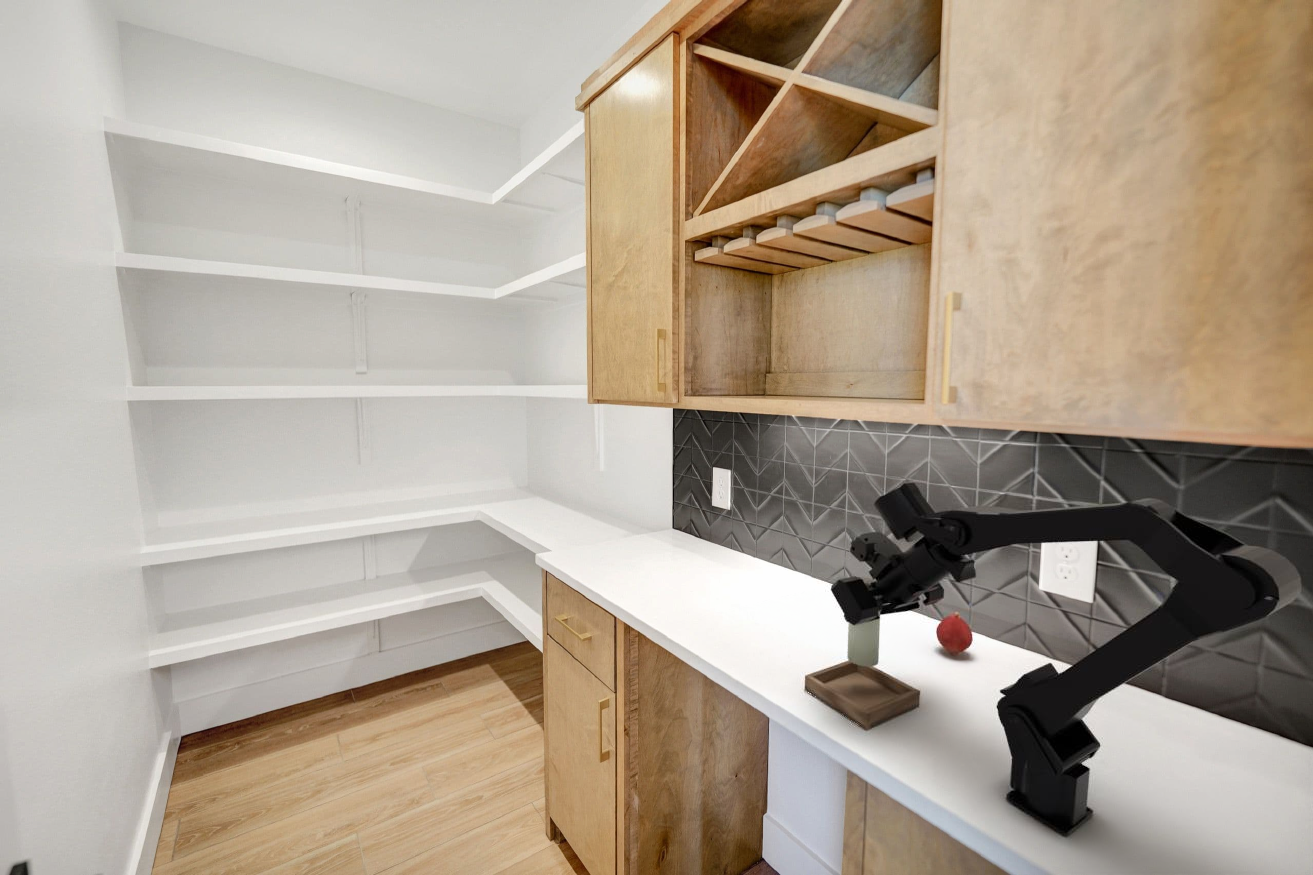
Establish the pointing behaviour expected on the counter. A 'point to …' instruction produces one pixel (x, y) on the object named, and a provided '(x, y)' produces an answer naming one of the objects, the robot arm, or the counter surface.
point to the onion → (954, 634)
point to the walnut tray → (862, 693)
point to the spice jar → (864, 639)
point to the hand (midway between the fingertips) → (857, 616)
